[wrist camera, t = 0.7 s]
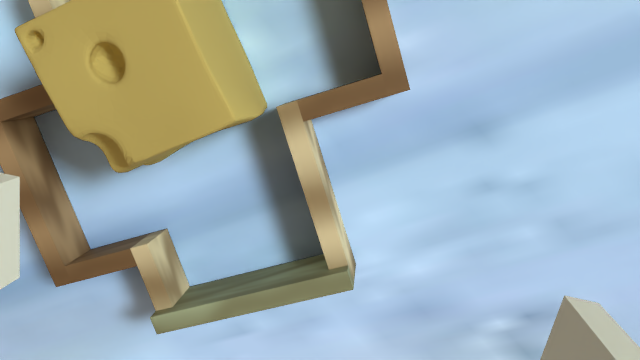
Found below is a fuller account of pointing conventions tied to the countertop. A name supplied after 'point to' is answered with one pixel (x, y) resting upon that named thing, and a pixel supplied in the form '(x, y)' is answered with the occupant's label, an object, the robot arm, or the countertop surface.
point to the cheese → (142, 74)
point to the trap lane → (157, 248)
